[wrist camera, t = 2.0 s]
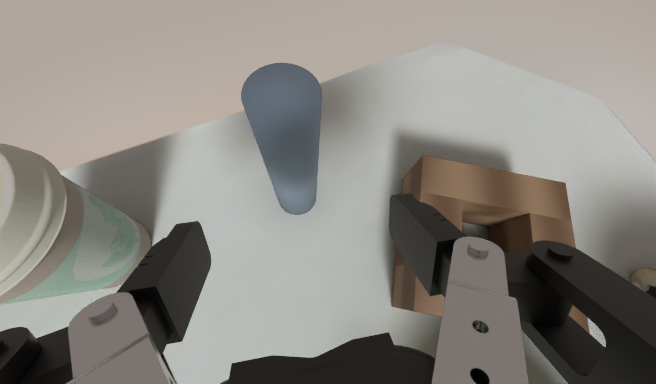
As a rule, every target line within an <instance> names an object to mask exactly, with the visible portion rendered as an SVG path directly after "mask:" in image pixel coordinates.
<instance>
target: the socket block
mask: <svg viewBox="0 0 656 384" xmlns="http://www.w3.org/2000/svg"><path fill="white" fill-rule="evenodd" d="M403 193H410V194H412V195H413V196H414V197H415V198H416V199H417V200H418V201H419V202H424V203H426V204H428V205H431V206H433V207H434V208H435V209H437V210H438V211H439V212H440V213H441V215H443V216H445V217H446V218H447V220H449V221H450V222H451V223H452V224H454V225H455V226H456V227H457V228H458V229H459V230H460V231H462V222H465V223H471V224H476V225H481V226H486V227H489V241H491V242H492V243H494V244H496V245H497V246H499V247H500V248H501V249H502V251H503V252H504V253H520V254H528V252H529V249H530V246H531V244H532V243H533V242H536V241H541V240H548V241H555V242H560V243H563V244H566V245H569V246H572V247H574V248H576V246H575V240H574V234H573V228H572V221H571V215H570V209H569V203H568V197H567V190H566V184H565V183H563V182H558V181H553V180H548V179H543V178H537V177H532V176H527V175H522V174H517V173H512V172H507V171H501V170H496V169H491V168H486V167H481V166H476V165H471V164H465V163H460V162H455V161H450V160H445V159H440V158H435V157H429V156H424V155H423V156H422V157H421V158H420V159H419V161H418V162H417V163H416V164H415V165H414V166H413V168H412V169H411V170H410V171H409V172H408V174H407V175H406V176H405V177H404V178H403V183H402V194H403ZM444 301H445V298H444V296H443V295H442V294H440V295H435V296H429V294H428V293H427V291H426V290H425V288H424V287H423V285H422V284H421V282H420V281H419V279H418V278H417V276H416V275H415V273H414V272H413V270H412V268H411V267H410V265H409V264H408V262H407V261H406V259H405V258H404V256H403V255H402V253H401V252H400V250H399V249H398V247H397V252H396V263H395V275H394V286H393V298H392V306H393V307H397V308H401V309H406V310H410V311H415V312H420V313H425V314H430V315H435V316H440V317H442V313H443V307H444ZM569 316H570V317H571V318H573V319H574V320H575V321H576V322H577V323H578V324H579V325H580V326H581V327H583V328H584V329H585V330H586V331H587V332H588V333H589V327H588V321H587V316H585V315H584V314H583V313H582V312H581V311H580V310H578V309H577V308H576V307H575V306H574V305H573V307H572V309H571V311H570V313H569ZM521 331H522V333H524V331H523V330H522V329H521ZM589 334H590V333H589Z"/></svg>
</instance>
